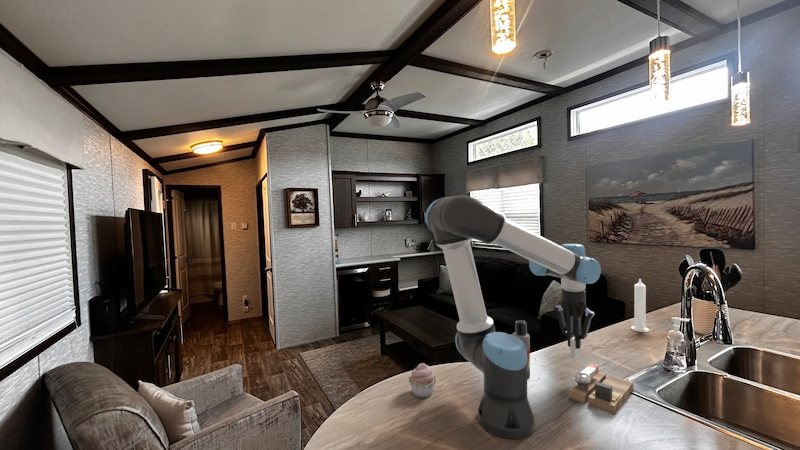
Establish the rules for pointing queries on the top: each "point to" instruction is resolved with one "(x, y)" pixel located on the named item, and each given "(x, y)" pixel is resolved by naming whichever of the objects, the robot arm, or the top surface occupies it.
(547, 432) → the top surface
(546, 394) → the top surface
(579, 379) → the latch arm
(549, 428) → the top surface
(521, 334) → the lotion bottle
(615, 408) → the door boards
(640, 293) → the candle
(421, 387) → the cupcake
